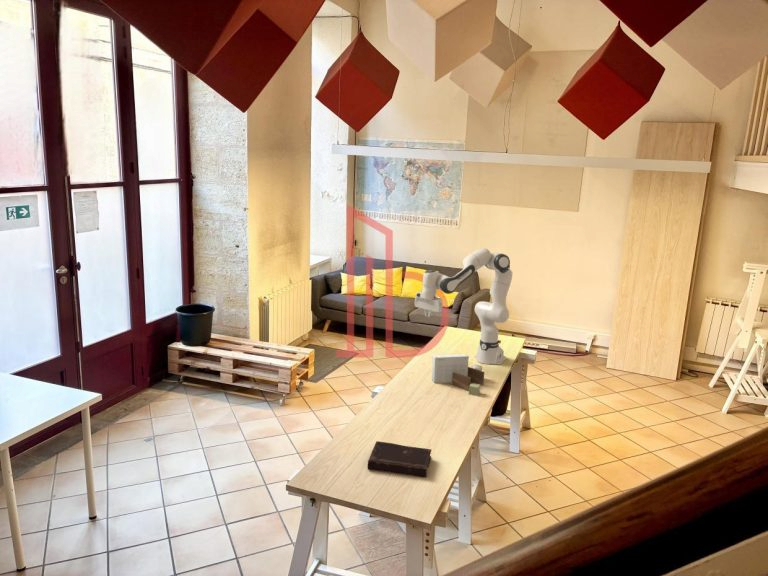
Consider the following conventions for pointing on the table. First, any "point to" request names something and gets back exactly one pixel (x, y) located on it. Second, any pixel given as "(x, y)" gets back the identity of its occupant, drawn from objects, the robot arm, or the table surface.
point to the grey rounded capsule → (477, 367)
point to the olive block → (474, 389)
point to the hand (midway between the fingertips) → (427, 316)
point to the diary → (399, 459)
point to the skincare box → (448, 367)
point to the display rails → (468, 378)
